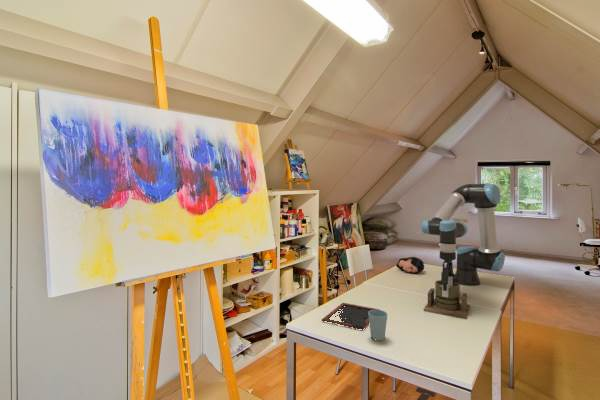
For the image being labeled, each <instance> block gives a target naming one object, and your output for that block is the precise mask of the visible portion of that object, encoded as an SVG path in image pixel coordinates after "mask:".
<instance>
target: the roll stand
mask: <svg viewBox="0 0 600 400" xmlns="http://www.w3.org/2000/svg"><path fill="white" fill-rule="evenodd" d="M467 302H468V293H466V292H463V294H462V296H461V298H460V302H459V310H456V311H447V310H442V309H439V308H437V307H436V306H435V288H433V287H431V288H430V289H429V291H428V292H427V303H426V305H425V306H424V308H423V312H426V313H427V312H428V313H432V314H438V315H443V316H449V317H453V318H458V319H464V320H466V319H467V316H468V314H469V310H470V307H471V304H468V303H467Z"/></svg>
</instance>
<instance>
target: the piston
mask: <svg viewBox="0 0 600 400" xmlns="http://www.w3.org/2000/svg"><path fill="white" fill-rule="evenodd" d="M441 281H442V280H441V279H438V280H436V281H435V282H434V287H435V288H434V299H435V306H436V307H437V308H439V309H442V310H447V311H456V310H459V303H460V302H461V298H460V296H461V295H460V291H461V287H460V285H461V284H459V283H457V282H455V284H454V285H453V286H448V297H443V296H442V284H441V283H440V282H441Z"/></svg>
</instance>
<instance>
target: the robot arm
mask: <svg viewBox="0 0 600 400" xmlns="http://www.w3.org/2000/svg"><path fill="white" fill-rule="evenodd" d="M500 202H501V192H500V189H499V187H498V186H497V184H494V183H466V184H463V185H461V186H459V187H457V188H455V189H454V190H453V191H451V193H450V194H449V195H448V199H447V200H446V201H445V203H444V204H443V205H442V206H441V208H439V210H437V212H436V213H435V214H434V216H433V217H432V218H431V220H423V222H422V224H421V231H422V233H423V234H427V235H430V236H431V235H432V236H439V244H438V246H439V259H441V260H443V262H442V281H441V282H440V283H441V284H442V296H443V297H448V286H453V277H454V274H455V275H456V276H457V277H458V278H459V284H460V285H463V286H478V285H480V283H481V280H480V277H479V274H478V269H480V270H487V271H490V272H500V271H501V270H502V269H503V266H504V264H505V260H506V256H505V252H501V248H500V247H499V246H498V241H497V228H496V226H497V225H496V218H495V217H496V214H495V209H496V208H497V206H498V204H500ZM465 204H473V205H474V206H473V207H474V208H475V209H477V217H478V218H477V219H478V229H479V239H480V240H479V241H480V246H479V247H478V246H475V245H474V246H473V245H471V246H470V245H468V246H467V245H466V246H459V247H458V248H457V238H461V237H464V236H465V235H467V233H468V227H467V225H466V224H465V223H464V222H458V221H457V222H456V221H455V220H451V218H452V217H453V216H454V214H455V213H456V212H457V211H458V210H459V208H460V207H463V206H464V205H465ZM455 260H456V271H455V273H454V270H453V269H454V265H453V261H455ZM453 273H454V274H453ZM452 276H453V277H452Z"/></svg>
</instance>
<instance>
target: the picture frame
mask: <svg viewBox="0 0 600 400" xmlns="http://www.w3.org/2000/svg"><path fill="white" fill-rule="evenodd" d="M344 306H345V307H344ZM339 309H341V310H342V309H343V310H342V311H343V313H342V311H341V310H339ZM371 310H381V309H380V308H374V307H369V306H368V307H367V306H363V305H358V304H351V303H347V302H342V303H340V305H338V306H337V307H336V308H334V309H333V310H332V311H330V312H329V313H328V314H327V315H325V316H324V317H323V318H321V322H322V321H327V322H332V323H337V324H340V325H344V326H348V327H353V328H357V329H362V330H363V329H364V328H365V327H366V326H367V325H368V324H369V314H368V312H369V311H371ZM337 311H341V313H340V312H338V313H340V314H339V317H340V319H341V318H342V319H341V321H342V322H339V321H334V320H330V319H329V318H330V317H331V316H332V315H333V314H335V313H336V312H337ZM340 315H341V316H340ZM337 316H338V315H337ZM335 317H336V316H335ZM345 318H346V319H345ZM343 321H344V322H343ZM369 325H370V324H369ZM369 325H368V326H369ZM368 326H367V327H368ZM367 327H366V328H367ZM366 328H365V329H366Z"/></svg>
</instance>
